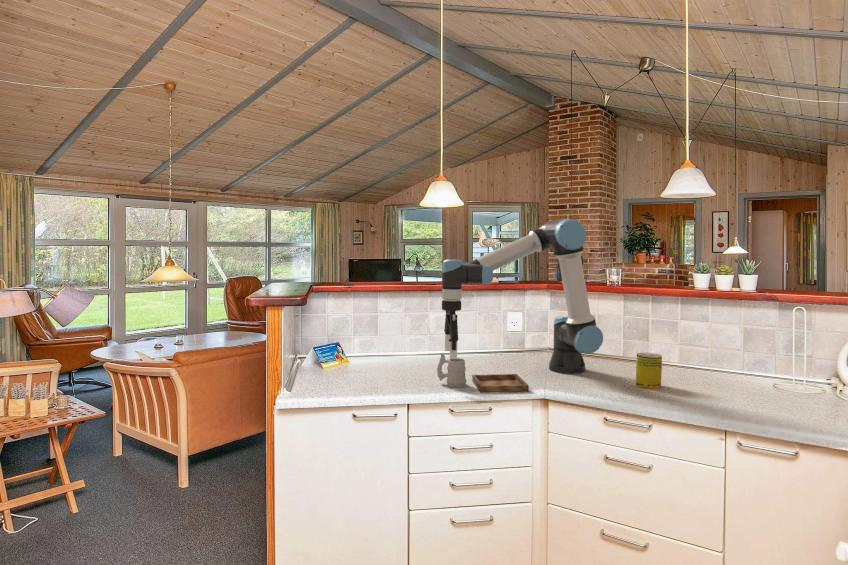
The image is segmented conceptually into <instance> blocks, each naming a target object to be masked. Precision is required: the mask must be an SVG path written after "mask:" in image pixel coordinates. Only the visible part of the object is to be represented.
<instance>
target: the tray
mask: <svg viewBox="0 0 848 565" xmlns="http://www.w3.org/2000/svg"><path fill="white" fill-rule="evenodd" d="M471 381H472V383H473V384H474V386H475V387H476V388H477V390H478V391H479V393H480V394H486V393H487V394H491V393H496V394H497V393H526V392H527V393H529V392H530V391H529V390H530V389H529V384H528V383H527V382H526V381H525V380H524V379H523V378H522V377H520V376H519V374H517V373H502V374H500V373H499V374H497V373H496V374H495V373H494V374H472V375H471Z"/></svg>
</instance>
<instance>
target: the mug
mask: <svg viewBox="0 0 848 565" xmlns="http://www.w3.org/2000/svg"><path fill="white" fill-rule="evenodd" d="M444 364H447V366H446V368H447V372H446V373H444V372H443V371H442V369H443V368H442V367H443V365H444ZM436 371H437V374H436V375H437V377H438V379H439V381H443V380H444V379H445V378H446V379H445V380H446V385H447V386H448V387H450V388H463V387H466V383H467V379H466V360H465V359H463V358H459V357H457V359H450V358H449V359H446V355H445V354H444V353H443V352H441V353H440V358H439V361H438V364H437V367H436Z"/></svg>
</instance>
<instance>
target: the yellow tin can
mask: <svg viewBox="0 0 848 565" xmlns="http://www.w3.org/2000/svg"><path fill="white" fill-rule="evenodd" d="M662 362H663V355H661V354H660V353H655V352H637V353H636V362H635V363H636V366H635V369H636V370H635V387H638V388H641V389H647V390H659V389H661V387H662V370H663V369H662V366H663V363H662Z"/></svg>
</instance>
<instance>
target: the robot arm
mask: <svg viewBox="0 0 848 565" xmlns="http://www.w3.org/2000/svg"><path fill="white" fill-rule="evenodd" d="M586 240H587V230H586V228H585V226H584V225H583V224H582V223H581V222H580V221H578V220H576V219H570V218H563V219H553V220H549V221H548V222H546V223H545V224H542V225H540V226H538V227H536V228H535V229H532V230H530V231H529V233H528V235H525V236H523V237H521V238H518V239H516V240H514V241H512V242H510V243H508V244H505V245H503V246H501V247H499V248H496V249H495V250H491V251H489V252H488V253H486V254H483V255H481V256H479V257H476V258H474V259H472V260H471V261H468V262H463V261H462V259H453V258H452V259H448V258H447V259H444V260H443V262H442V269H441V273H442V274H441V277H442V278H441V279H442V280H441V286H442V287H441V290H440V294H441V299H442V301H441V310H442V311H445V318H444V319H445V321H444V351H445V352H449V359H457V358H458V341H459V339H460V338H459V325H458V314H456V312H459V311H461V310H462V297H463V295H462V294H463V285H483V286H484V285H490V284H492V282H493V279H494V271H496V270H499V269H501V268H502V267H504V266H505V267H506V266H508V265H509V264H511V263H514V262H516V261H518V260H520V259H522V258H524V257H526V256H529V255H531V254H533V253H535V252H537V253H541V252H543V251H547V250H551V249H552V251H553V256H554V257H555V258H557V259H558V262H559V263H558V265H559V268H560V274H561V280H562V285H563V293H564V296H565V297H564V298H565V304H566V309H567V314H568V316H556V317H555V318H554V321H553V352H552V355H551V357H550V360H549V362H548V369H549V370H550V371H552V372H555V373H561V374H581V373H584V372H586V362H585V360H584V357H583V354H586V355H587V354H590V355H591V354H594V353H595V352H597V351H598V350H599V349H600V348H601V346H602V344H603V342H604V334H603V333H604V332H603V331H602V330H601V329H600V327H598V326H597V321H596V317H595V315H592V313H591V310H590V303H589V297H588V291H587V285H586V284H587V283H586V280H585V274H584V267H583V261H582V255H583V253H584V251H585V248H584V244H585V242H586Z"/></svg>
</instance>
